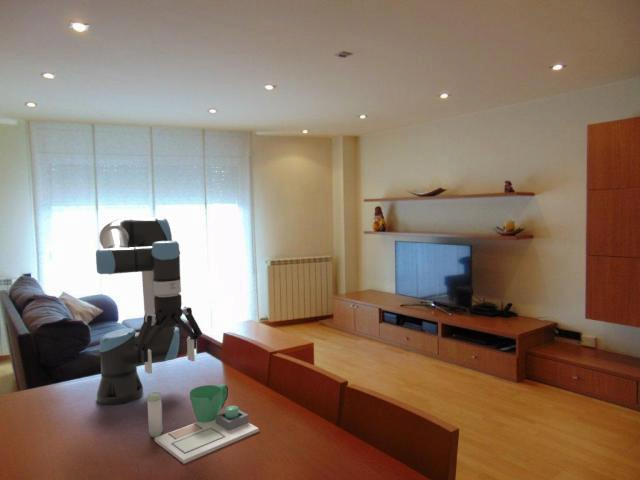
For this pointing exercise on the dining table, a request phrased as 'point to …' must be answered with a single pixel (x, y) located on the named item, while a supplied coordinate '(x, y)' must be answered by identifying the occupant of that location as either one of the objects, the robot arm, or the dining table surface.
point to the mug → (208, 401)
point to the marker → (155, 414)
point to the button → (231, 412)
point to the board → (205, 436)
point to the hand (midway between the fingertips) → (170, 366)
